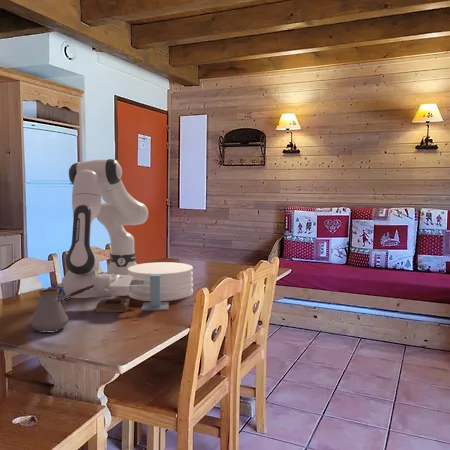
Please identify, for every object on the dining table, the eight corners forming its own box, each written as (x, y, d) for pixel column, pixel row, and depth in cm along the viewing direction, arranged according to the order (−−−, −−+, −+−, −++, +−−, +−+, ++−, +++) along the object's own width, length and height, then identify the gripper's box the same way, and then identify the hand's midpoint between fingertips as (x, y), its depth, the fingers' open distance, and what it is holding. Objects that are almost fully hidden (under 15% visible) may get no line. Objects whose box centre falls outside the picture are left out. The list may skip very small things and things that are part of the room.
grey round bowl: (77, 298, 193) (76, 285, 192) (54, 304, 182) (54, 291, 182) (56, 294, 198) (56, 283, 198) (33, 301, 188) (33, 288, 187)
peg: (151, 304, 179) (150, 274, 178) (160, 304, 179) (160, 274, 178) (150, 306, 175) (150, 276, 174) (160, 306, 176) (159, 275, 175)
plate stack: (156, 284, 220) (155, 260, 219) (205, 290, 206) (205, 265, 205) (114, 296, 196) (113, 269, 195) (166, 304, 182) (166, 276, 181)
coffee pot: (24, 334, 145) (22, 288, 143) (40, 323, 156) (39, 280, 155) (91, 335, 144) (90, 288, 142) (102, 324, 155) (101, 281, 154)
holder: (101, 304, 181) (101, 298, 181) (129, 304, 182) (129, 298, 182) (96, 312, 170) (96, 306, 170) (126, 311, 171) (126, 305, 171)
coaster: (143, 304, 182) (143, 302, 182) (168, 303, 183) (168, 302, 183) (141, 310, 172) (141, 309, 172) (168, 310, 173) (168, 308, 173)
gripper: (102, 283, 164) (141, 282, 166) (110, 272, 185) (145, 271, 186) (102, 300, 165) (141, 299, 166) (110, 287, 185) (145, 287, 186)
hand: (143, 284), depth 176 cm, fingers open, 8 cm apart
